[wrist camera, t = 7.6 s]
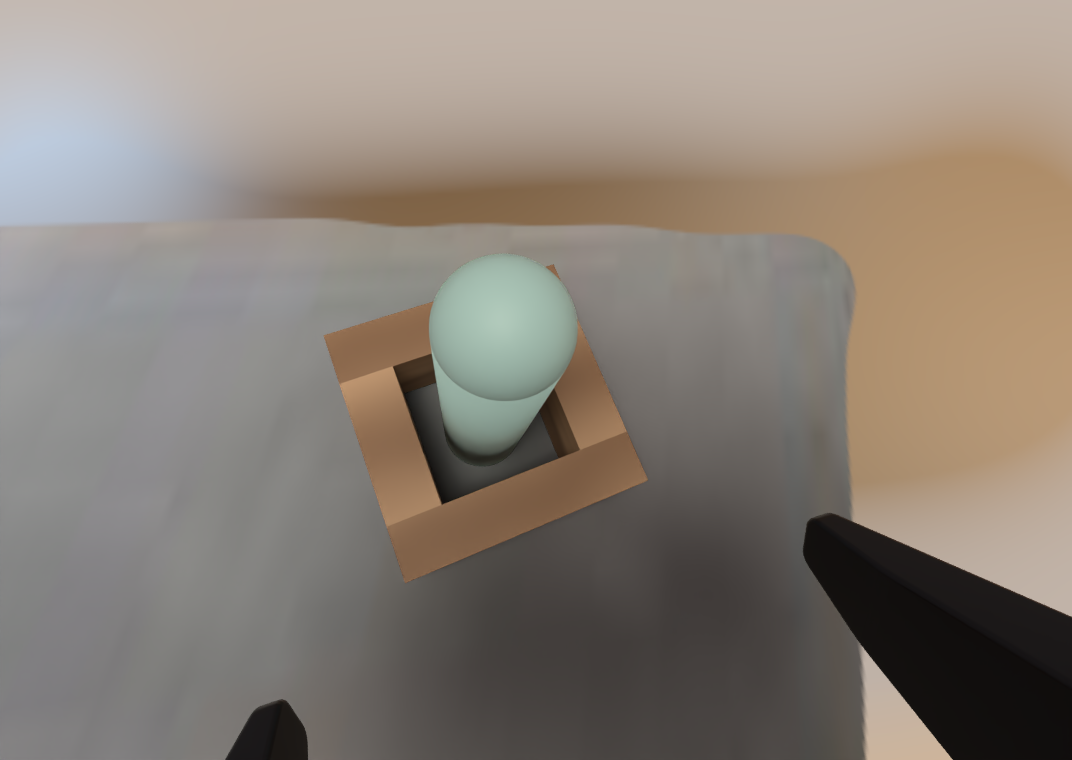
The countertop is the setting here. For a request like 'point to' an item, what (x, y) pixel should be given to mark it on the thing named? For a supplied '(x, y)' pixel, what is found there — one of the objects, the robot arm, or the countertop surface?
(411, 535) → the wooden square socket block
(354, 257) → the countertop surface
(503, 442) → the dowel
